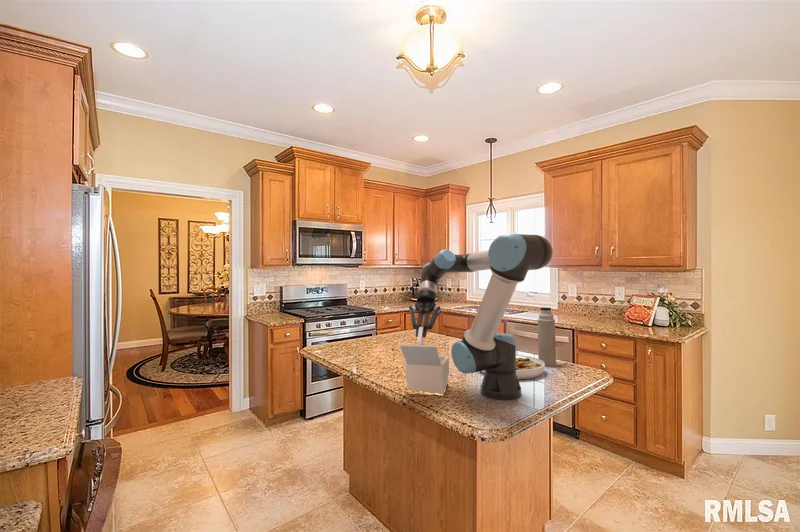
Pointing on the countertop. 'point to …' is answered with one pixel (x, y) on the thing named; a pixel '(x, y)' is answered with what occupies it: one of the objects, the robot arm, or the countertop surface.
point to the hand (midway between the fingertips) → (419, 343)
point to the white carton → (428, 376)
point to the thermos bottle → (546, 338)
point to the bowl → (528, 367)
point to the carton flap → (421, 355)
